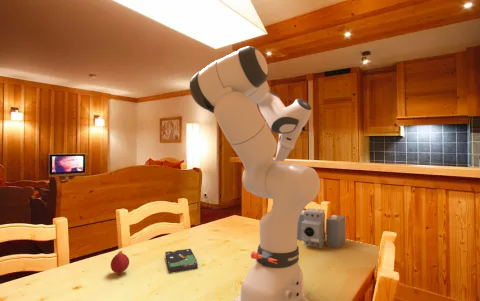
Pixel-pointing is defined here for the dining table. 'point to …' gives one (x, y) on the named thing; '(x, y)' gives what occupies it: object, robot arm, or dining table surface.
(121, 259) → the onion
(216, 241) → the dining table surface
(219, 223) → the dining table surface
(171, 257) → the disk drive
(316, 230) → the circuit breaker
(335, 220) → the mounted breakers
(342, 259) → the dining table surface
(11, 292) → the dining table surface
